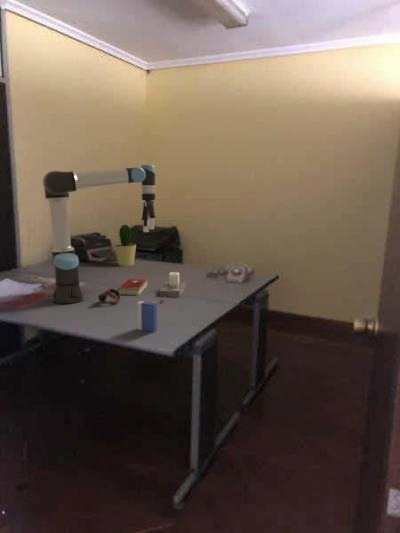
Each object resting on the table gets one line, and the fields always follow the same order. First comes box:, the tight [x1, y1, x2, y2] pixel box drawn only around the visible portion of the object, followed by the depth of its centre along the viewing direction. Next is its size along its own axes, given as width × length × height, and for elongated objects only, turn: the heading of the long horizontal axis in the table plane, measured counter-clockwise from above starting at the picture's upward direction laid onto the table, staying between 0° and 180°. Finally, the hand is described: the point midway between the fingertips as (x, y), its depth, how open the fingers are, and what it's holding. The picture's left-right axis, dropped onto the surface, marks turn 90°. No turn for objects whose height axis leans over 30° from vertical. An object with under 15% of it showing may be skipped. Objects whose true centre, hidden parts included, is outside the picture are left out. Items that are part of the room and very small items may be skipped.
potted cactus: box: [114, 224, 137, 267], centre depth 286 cm, size 15×15×30 cm
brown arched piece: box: [97, 288, 122, 305], centre depth 197 cm, size 12×10×8 cm
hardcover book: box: [117, 278, 149, 296], centre depth 223 cm, size 12×21×4 cm, turn 174°
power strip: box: [159, 281, 186, 304], centre depth 214 cm, size 32×11×4 cm, turn 174°
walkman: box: [136, 300, 158, 333], centre depth 162 cm, size 8×3×12 cm, turn 68°
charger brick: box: [168, 271, 180, 286], centre depth 223 cm, size 5×5×9 cm
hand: (148, 230), depth 225 cm, fingers open, 13 cm apart
